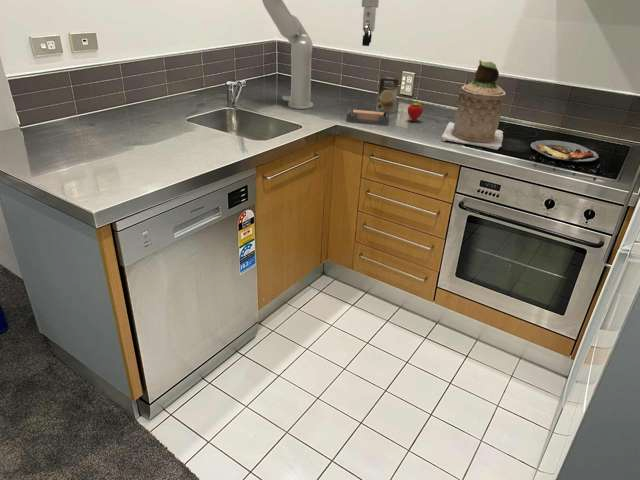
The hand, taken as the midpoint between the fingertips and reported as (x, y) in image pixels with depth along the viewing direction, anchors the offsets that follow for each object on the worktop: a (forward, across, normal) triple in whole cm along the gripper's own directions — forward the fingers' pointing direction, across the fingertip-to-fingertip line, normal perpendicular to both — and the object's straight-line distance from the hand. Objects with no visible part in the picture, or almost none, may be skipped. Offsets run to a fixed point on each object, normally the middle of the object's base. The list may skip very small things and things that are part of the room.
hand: (366, 44), depth 227 cm
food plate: (+31, -41, -86) cm, 100 cm away
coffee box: (+31, +1, -12) cm, 33 cm away
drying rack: (+30, -19, -5) cm, 36 cm away
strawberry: (+31, -13, -26) cm, 42 cm away
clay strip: (+29, -19, -5) cm, 35 cm away
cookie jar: (+31, -30, -51) cm, 67 cm away
